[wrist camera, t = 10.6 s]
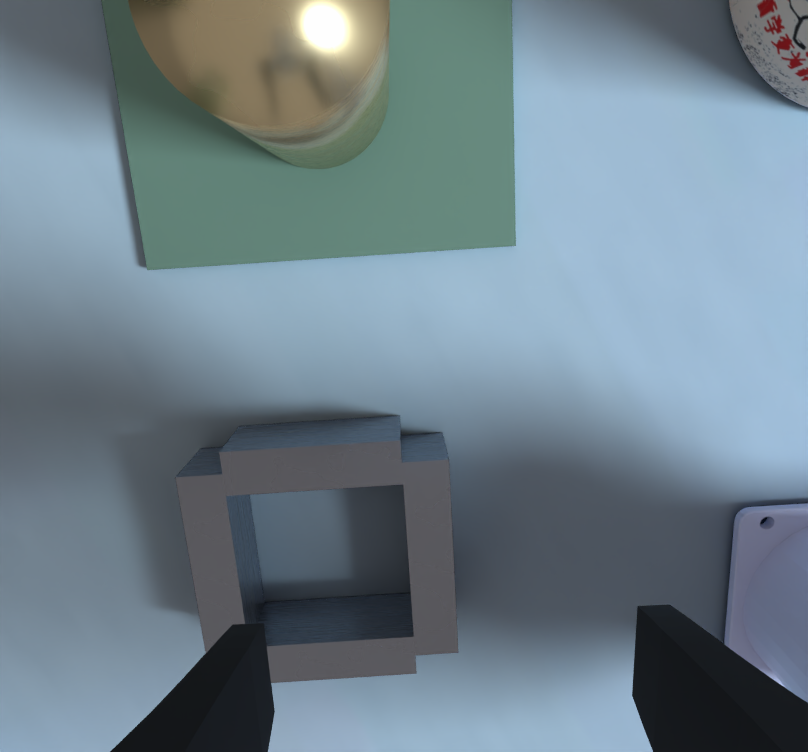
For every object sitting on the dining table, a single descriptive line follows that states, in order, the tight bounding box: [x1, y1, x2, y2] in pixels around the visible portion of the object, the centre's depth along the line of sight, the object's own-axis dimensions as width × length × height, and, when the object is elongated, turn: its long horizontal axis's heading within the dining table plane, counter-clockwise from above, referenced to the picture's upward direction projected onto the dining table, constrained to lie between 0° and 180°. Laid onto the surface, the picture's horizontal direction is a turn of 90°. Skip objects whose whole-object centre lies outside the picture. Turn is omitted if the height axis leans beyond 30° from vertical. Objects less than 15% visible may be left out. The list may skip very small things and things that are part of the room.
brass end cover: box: [128, 0, 390, 169], centre depth 14 cm, size 4×4×8 cm
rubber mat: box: [101, 0, 516, 270], centre depth 18 cm, size 12×10×1 cm
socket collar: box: [175, 416, 458, 683], centre depth 21 cm, size 9×9×2 cm
